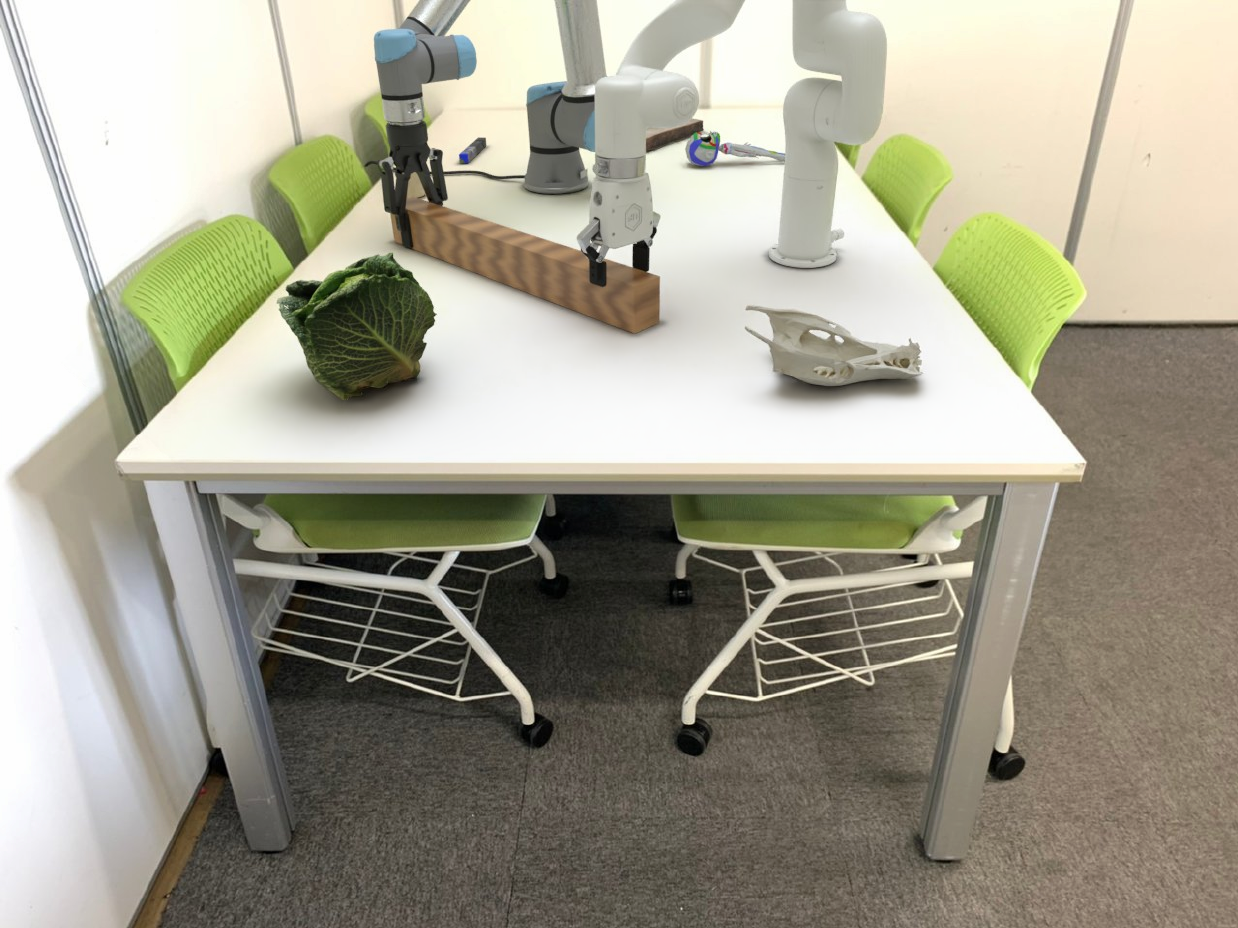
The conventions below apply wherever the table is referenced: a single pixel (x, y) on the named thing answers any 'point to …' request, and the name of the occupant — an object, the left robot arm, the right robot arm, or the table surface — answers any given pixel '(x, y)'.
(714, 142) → the toy
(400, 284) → the vegetable
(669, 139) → the plaque
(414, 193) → the candle
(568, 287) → the bar
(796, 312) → the anatomical model
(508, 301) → the table surface
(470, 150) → the grey and blue rod
